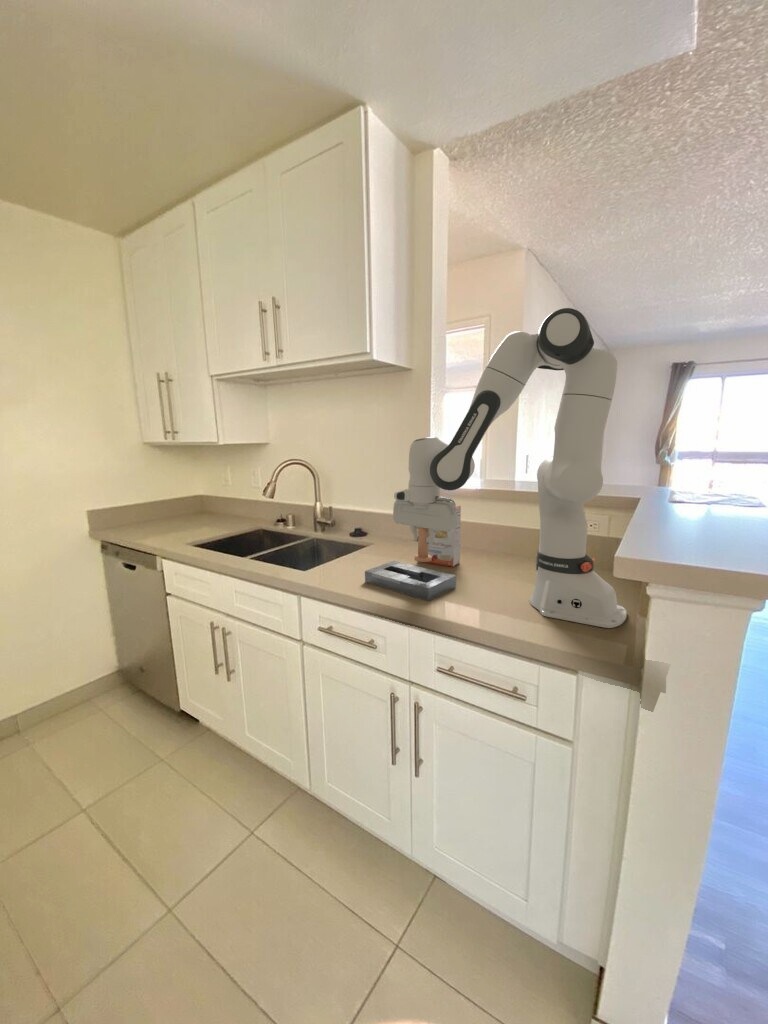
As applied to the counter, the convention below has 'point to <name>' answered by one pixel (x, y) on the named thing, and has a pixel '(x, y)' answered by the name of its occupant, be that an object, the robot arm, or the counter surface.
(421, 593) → the keyhole board
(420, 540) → the peg
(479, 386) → the robot arm
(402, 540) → the counter surface
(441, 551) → the cracker box
